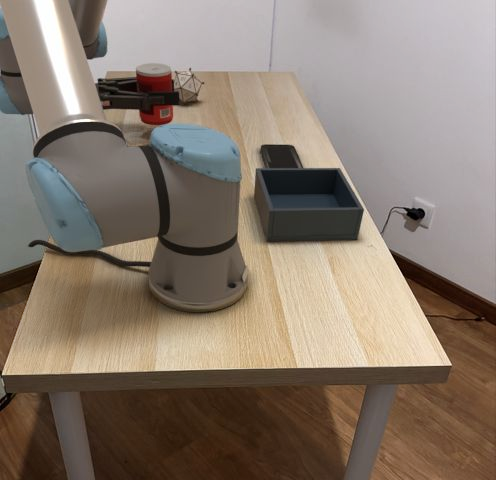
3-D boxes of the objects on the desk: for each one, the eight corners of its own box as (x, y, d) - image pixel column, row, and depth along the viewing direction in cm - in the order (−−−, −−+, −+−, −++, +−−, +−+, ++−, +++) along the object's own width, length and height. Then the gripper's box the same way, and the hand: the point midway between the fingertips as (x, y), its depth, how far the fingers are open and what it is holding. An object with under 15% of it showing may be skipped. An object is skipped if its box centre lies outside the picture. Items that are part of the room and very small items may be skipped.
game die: (181, 117, 146) (156, 87, 139) (191, 97, 150) (168, 66, 143) (205, 107, 140) (181, 74, 134) (215, 86, 144) (192, 53, 137)
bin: (266, 241, 94) (269, 210, 90) (253, 197, 106) (255, 168, 102) (357, 239, 96) (364, 209, 92) (334, 196, 108) (339, 167, 104)
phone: (293, 144, 124) (305, 172, 113) (293, 149, 124) (305, 177, 113) (259, 144, 123) (268, 172, 112) (259, 149, 123) (268, 177, 113)
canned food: (176, 115, 127) (174, 64, 120) (169, 127, 121) (167, 74, 114) (144, 112, 127) (140, 61, 120) (136, 124, 121) (131, 71, 114)
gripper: (74, 96, 126) (171, 94, 131) (74, 129, 112) (183, 125, 116) (69, 61, 121) (169, 60, 126) (68, 90, 107) (182, 88, 111)
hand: (176, 91), depth 121 cm, fingers closed on canned food, 8 cm apart
